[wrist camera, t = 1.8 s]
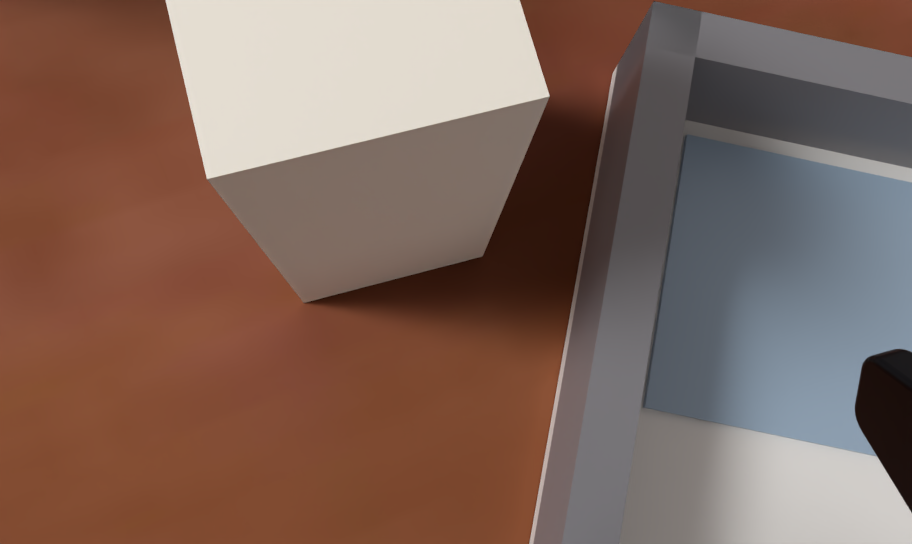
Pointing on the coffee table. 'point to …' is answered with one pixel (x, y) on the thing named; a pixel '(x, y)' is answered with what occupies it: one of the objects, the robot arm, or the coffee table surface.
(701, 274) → the arena
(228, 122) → the block
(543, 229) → the coffee table surface
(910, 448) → the robot arm
